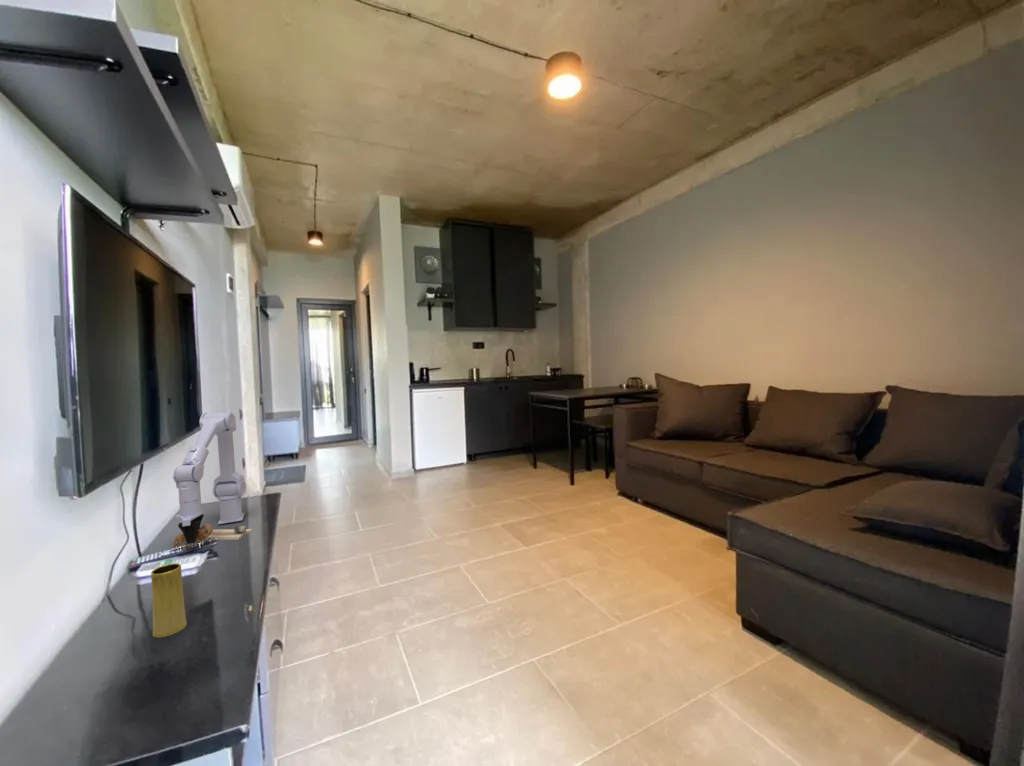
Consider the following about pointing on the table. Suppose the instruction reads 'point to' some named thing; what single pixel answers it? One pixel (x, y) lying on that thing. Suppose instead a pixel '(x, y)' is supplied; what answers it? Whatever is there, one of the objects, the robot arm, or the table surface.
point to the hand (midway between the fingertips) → (192, 540)
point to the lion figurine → (200, 535)
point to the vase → (168, 600)
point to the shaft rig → (230, 532)
